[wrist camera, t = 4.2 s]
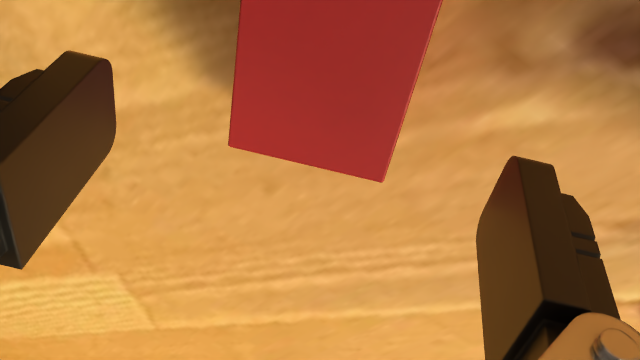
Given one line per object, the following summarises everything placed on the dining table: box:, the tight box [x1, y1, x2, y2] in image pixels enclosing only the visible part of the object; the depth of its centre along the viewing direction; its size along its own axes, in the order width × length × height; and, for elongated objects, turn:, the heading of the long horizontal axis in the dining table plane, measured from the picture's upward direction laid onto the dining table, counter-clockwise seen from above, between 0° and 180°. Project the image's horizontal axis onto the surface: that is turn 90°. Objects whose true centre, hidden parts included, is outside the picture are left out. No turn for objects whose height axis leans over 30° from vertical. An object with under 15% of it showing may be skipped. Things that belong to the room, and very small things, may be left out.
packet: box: [228, 0, 443, 182], centre depth 16 cm, size 11×5×4 cm, turn 170°
